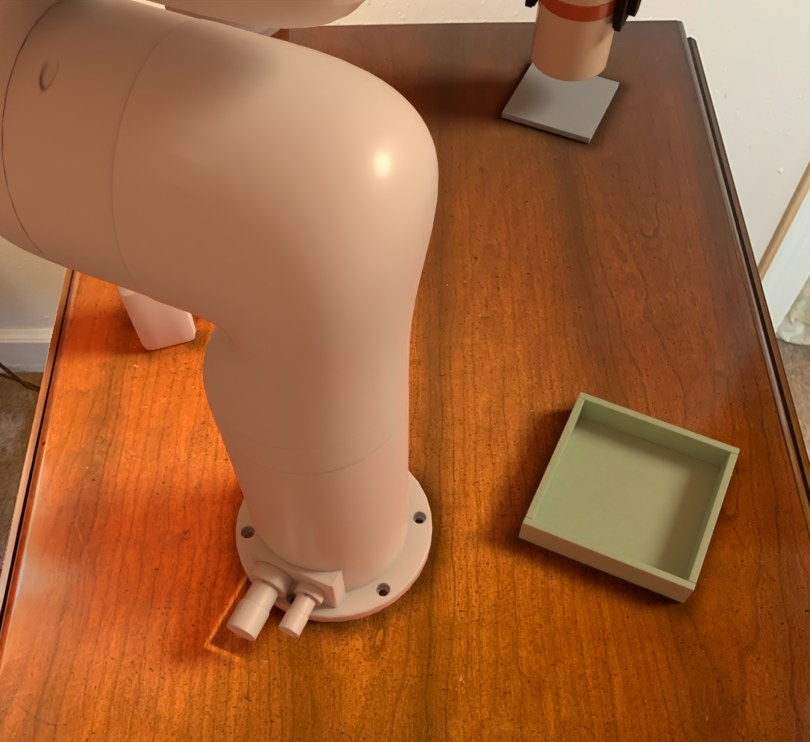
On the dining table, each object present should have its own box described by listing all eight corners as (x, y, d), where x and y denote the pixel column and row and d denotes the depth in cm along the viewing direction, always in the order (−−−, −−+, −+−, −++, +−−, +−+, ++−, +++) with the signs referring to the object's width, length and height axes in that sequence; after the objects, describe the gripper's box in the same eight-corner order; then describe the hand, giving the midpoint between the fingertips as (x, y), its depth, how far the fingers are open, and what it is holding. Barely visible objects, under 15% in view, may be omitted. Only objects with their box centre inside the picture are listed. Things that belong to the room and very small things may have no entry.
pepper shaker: (199, 342, 60) (165, 244, 52) (145, 355, 60) (101, 258, 51) (188, 302, 62) (154, 200, 53) (136, 314, 61) (92, 214, 53)
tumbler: (593, 90, 66) (619, -27, 58) (518, 69, 67) (534, -49, 59) (618, 44, 69) (647, -75, 61) (546, 24, 70) (564, -95, 62)
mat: (588, 143, 69) (589, 138, 69) (501, 117, 71) (501, 112, 70) (618, 87, 73) (619, 82, 72) (533, 63, 74) (534, 58, 74)
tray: (681, 605, 51) (693, 590, 49) (517, 539, 53) (522, 522, 51) (727, 467, 55) (740, 448, 53) (573, 411, 57) (580, 391, 55)
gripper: (475, -298, 49) (458, 8, 65) (763, -240, 45) (670, 67, 62) (521, -348, 51) (493, -43, 68) (794, -297, 48) (697, 10, 64)
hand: (578, 7), depth 64 cm, fingers closed on tumbler, 6 cm apart
